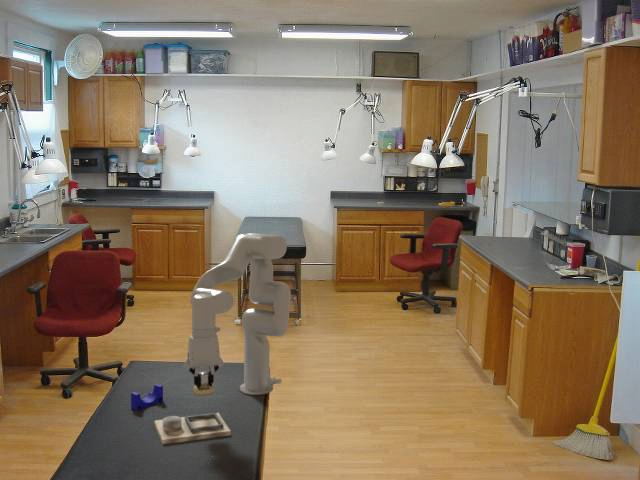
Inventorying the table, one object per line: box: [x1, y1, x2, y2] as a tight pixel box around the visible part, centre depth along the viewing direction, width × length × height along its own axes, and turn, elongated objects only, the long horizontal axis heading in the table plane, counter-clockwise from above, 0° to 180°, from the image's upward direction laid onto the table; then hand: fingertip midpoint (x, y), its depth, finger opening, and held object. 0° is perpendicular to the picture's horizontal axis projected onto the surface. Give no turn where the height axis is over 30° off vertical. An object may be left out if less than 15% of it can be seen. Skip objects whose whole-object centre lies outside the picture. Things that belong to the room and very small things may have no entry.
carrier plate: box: [153, 412, 232, 445], centre depth 250 cm, size 22×16×4 cm
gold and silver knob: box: [192, 370, 216, 397], centre depth 249 cm, size 7×7×6 cm
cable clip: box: [130, 383, 164, 411], centre depth 270 cm, size 12×4×6 cm, turn 143°
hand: (203, 385), depth 249 cm, fingers closed on gold and silver knob, 3 cm apart
